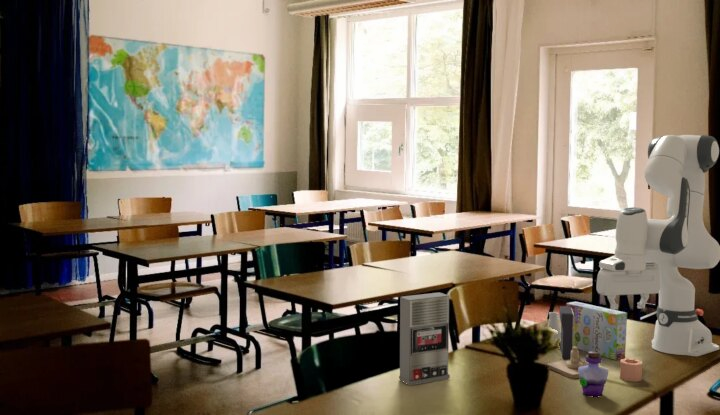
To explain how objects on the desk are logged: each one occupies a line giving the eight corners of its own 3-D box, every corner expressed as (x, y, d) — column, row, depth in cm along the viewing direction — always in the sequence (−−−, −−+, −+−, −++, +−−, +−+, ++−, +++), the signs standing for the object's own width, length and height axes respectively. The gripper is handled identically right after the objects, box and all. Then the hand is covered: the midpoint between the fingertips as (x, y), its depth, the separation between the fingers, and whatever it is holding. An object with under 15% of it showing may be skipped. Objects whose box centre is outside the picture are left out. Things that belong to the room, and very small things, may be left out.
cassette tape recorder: (409, 386, 219) (410, 300, 216) (399, 380, 224) (399, 296, 222) (450, 379, 225) (451, 296, 223) (438, 373, 230) (439, 292, 228)
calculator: (574, 360, 245) (575, 314, 243) (560, 359, 245) (561, 313, 244) (571, 350, 255) (573, 306, 254) (558, 349, 256) (559, 305, 255)
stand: (576, 362, 242) (576, 340, 241) (603, 373, 231) (604, 349, 230) (545, 367, 237) (546, 344, 236) (572, 378, 226) (573, 354, 225)
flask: (564, 339, 269) (565, 311, 268) (562, 344, 262) (563, 316, 261) (543, 337, 271) (543, 310, 270) (541, 342, 265) (541, 314, 264)
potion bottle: (570, 394, 212) (572, 352, 211) (584, 386, 219) (586, 345, 217) (600, 401, 206) (602, 358, 205) (613, 393, 213) (615, 351, 212)
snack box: (626, 358, 247) (628, 312, 246) (615, 360, 244) (617, 314, 242) (574, 343, 265) (575, 300, 263) (563, 345, 261) (564, 302, 260)
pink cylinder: (630, 373, 231) (631, 357, 230) (646, 379, 225) (646, 362, 225) (615, 376, 228) (616, 360, 228) (630, 382, 223) (631, 365, 222)
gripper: (652, 260, 232) (649, 305, 233) (594, 262, 225) (592, 308, 226) (666, 263, 226) (664, 309, 227) (607, 265, 219) (605, 312, 220)
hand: (627, 309), depth 227 cm, fingers open, 8 cm apart
